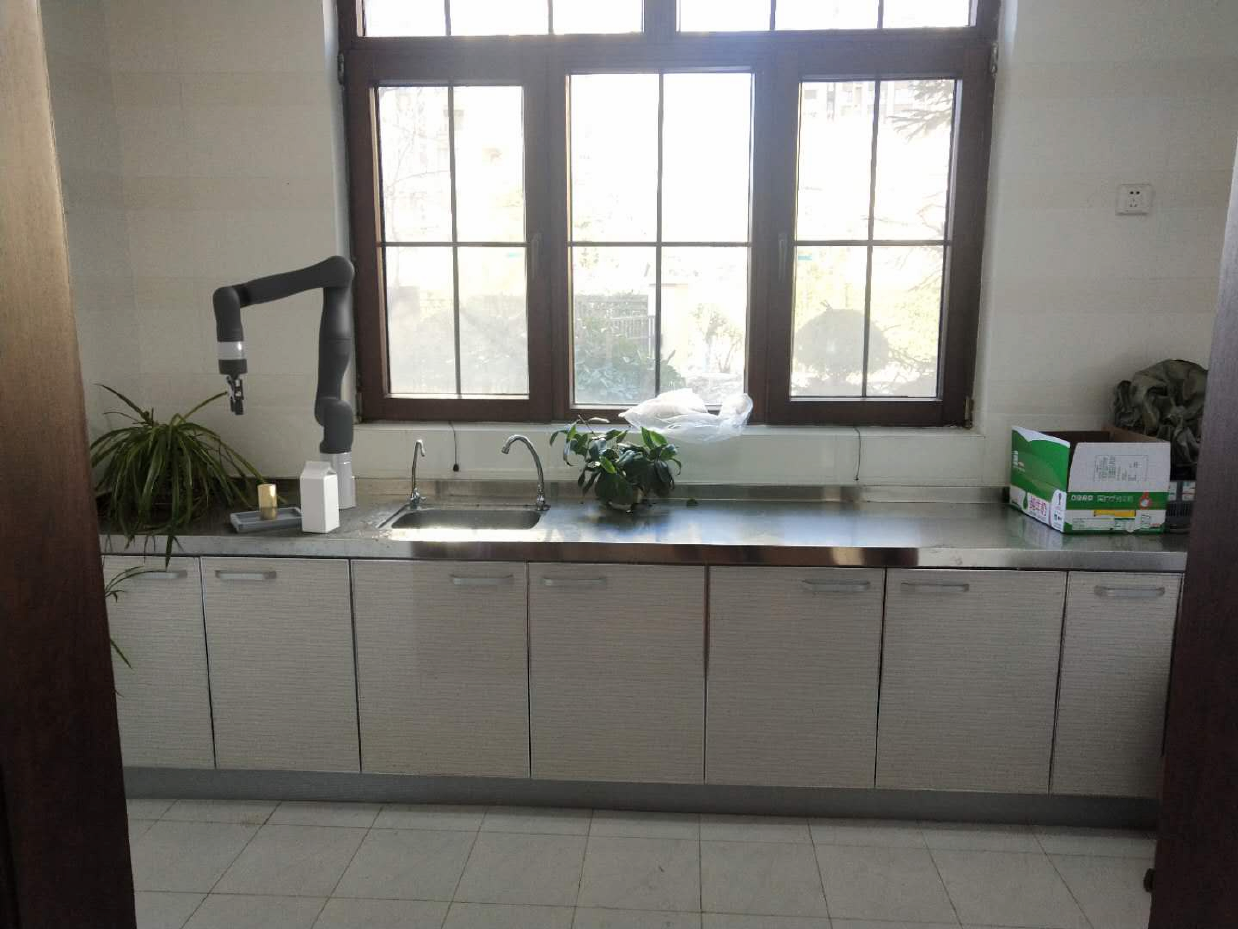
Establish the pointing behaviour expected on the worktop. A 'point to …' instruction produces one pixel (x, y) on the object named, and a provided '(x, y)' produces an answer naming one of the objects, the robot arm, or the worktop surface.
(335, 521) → the milk carton
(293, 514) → the tray
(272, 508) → the brass bushing
